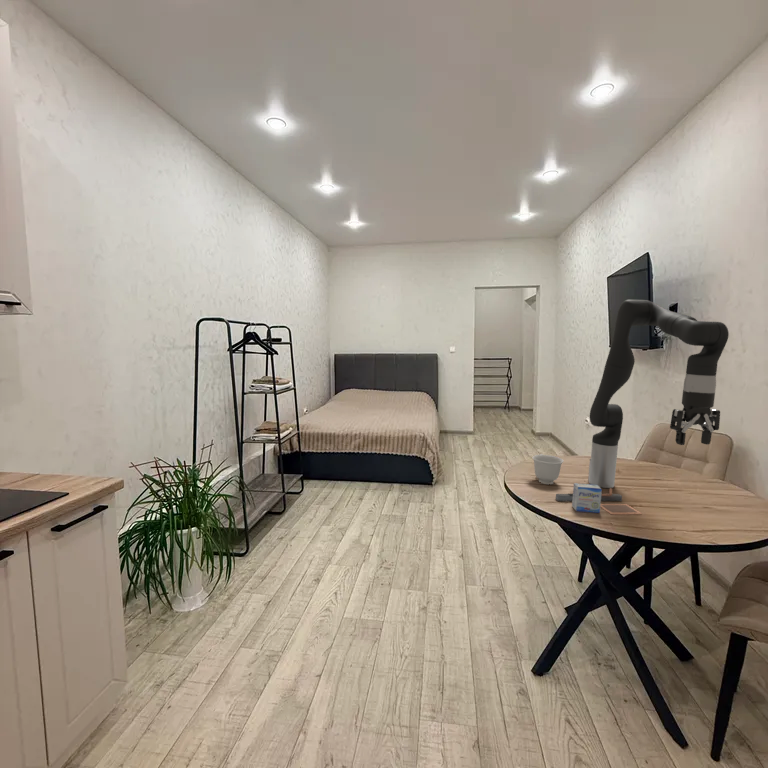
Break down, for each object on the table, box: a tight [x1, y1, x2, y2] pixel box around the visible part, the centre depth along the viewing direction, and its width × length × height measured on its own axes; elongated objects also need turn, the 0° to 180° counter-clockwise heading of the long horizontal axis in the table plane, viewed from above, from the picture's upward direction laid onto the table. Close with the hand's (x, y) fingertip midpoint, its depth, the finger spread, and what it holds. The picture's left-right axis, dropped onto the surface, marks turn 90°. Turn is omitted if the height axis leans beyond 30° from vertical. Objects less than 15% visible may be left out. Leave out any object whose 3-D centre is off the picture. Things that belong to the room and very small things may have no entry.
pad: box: [600, 503, 643, 515], centre depth 144 cm, size 8×11×1 cm
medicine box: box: [571, 482, 603, 514], centre depth 142 cm, size 8×4×9 cm, turn 82°
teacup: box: [531, 453, 564, 485], centre depth 171 cm, size 12×15×10 cm
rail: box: [555, 488, 623, 502], centre depth 151 cm, size 2×24×4 cm, turn 94°
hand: (692, 444), depth 123 cm, fingers open, 8 cm apart
